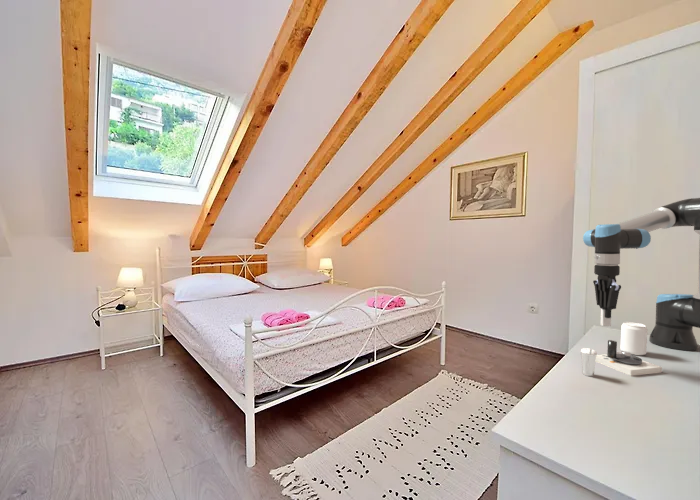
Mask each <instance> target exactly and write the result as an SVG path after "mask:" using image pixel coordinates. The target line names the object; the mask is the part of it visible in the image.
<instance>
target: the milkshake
mask: <svg viewBox="0 0 700 500" xmlns="http://www.w3.org/2000/svg"><path fill="white" fill-rule="evenodd" d="M597 355H598V353H597V351H596V350H595V349H593V348H588V347H583V348H581V349H580V357H581V373H582V375H584V376H586V377H595V369H596V363H597V362H596V357H597Z"/></svg>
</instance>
